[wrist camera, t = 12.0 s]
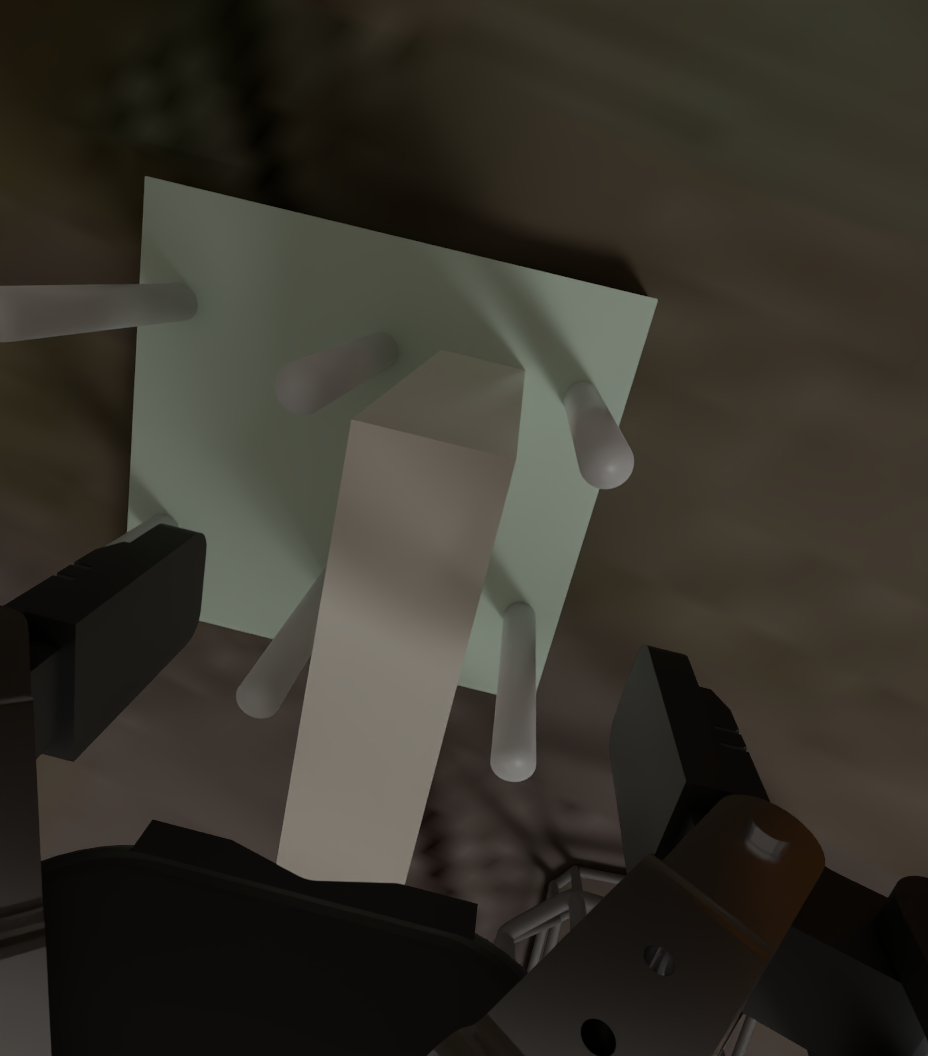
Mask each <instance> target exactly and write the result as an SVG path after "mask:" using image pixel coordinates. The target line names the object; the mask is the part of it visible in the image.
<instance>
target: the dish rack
mask: <svg viewBox="0 0 928 1056" xmlns="http://www.w3.org/2000/svg"><path fill="white" fill-rule="evenodd" d="M657 301H658V299H655V298H651V297H646V296H642V295H638V294H634V293H630V292H626V291H621V290H617V289H613V288H609V287H605V286H601V285H597V284H592V283H588V282H584V281H580V280H576V279H572V278H567V277H563V276H559V275H555V274H551V273H547V272H543V271H538V270H534V269H530V268H526V267H522V266H518V265H513V264H509V263H505V262H501V261H497V260H493V259H489V258H484V257H480V256H476V255H472V254H468V253H464V252H459V251H455V250H451V249H447V248H443V247H439V246H435V245H430V244H426V243H422V242H418V241H414V240H410V239H405V238H401V237H397V236H393V235H389V234H385V233H381V232H376V231H372V230H368V229H364V228H360V227H356V226H351V225H347V224H343V223H339V222H335V221H331V220H327V219H322V218H318V217H314V216H310V215H306V214H302V213H297V212H293V211H289V210H285V209H281V208H277V207H273V206H268V205H264V204H260V203H256V202H252V201H248V200H243V199H239V198H235V197H231V196H227V195H223V194H219V193H214V192H210V191H206V190H202V189H198V188H194V187H189V186H185V185H181V184H177V183H173V182H169V181H165V180H160V179H156V178H152V177H148V176H145V185H144V205H143V225H142V245H141V264H140V284H97V285H33V286H0V342H13V341H22V340H30V339H38V338H46V337H54V336H62V335H71V334H79V333H87V332H95V331H103V330H111V329H120V328H128V327H136V326H137V344H136V364H135V384H134V404H133V424H132V443H131V463H130V483H129V503H128V523H127V533H125V534H124V535H122V536H121V537H119V538H117V539H116V540H114V541H113V542H111V543H109V544H108V545H106V546H109V545H113V544H117V543H120V542H124V541H125V542H129V543H130V542H132V541H133V540H135V539H136V538H138V537H139V536H141V535H142V534H144V533H145V532H147V531H148V530H150V529H152V528H153V527H155V526H156V525H158V524H161V523H163V524H167V525H171V526H175V527H179V528H183V529H187V530H191V531H195V532H199V533H202V534H204V536H205V538H206V543H207V549H206V561H205V572H204V583H203V593H202V604H201V613H200V618H199V621H203V622H207V623H211V624H215V625H219V626H223V627H227V628H231V629H235V630H239V631H243V632H247V633H251V634H255V635H259V636H263V637H267V638H271V639H273V640H272V642H271V643H270V644H269V646H268V647H267V649H266V650H265V651H264V653H263V654H262V655H261V657H260V658H259V660H258V661H257V662H256V664H255V665H254V667H253V668H252V669H251V671H250V672H249V673H248V675H247V676H246V678H245V679H244V680H243V682H242V683H241V685H240V686H239V687H238V689H237V692H236V700H237V703H238V705H239V707H240V708H241V709H242V711H244V712H245V713H246V714H247V715H249V716H251V717H254V718H260V719H264V718H269V717H271V716H273V715H274V714H275V713H276V712H277V711H278V709H279V708H280V706H281V704H282V702H283V701H284V699H285V697H286V696H287V694H288V692H289V691H290V689H291V687H292V686H293V684H294V682H295V681H296V679H297V677H298V676H299V674H300V672H301V670H302V669H303V667H304V665H305V664H306V662H307V660H308V659H309V657H310V655H311V654H312V650H313V644H314V638H315V632H316V626H317V620H318V614H319V608H320V602H321V597H322V591H323V585H324V579H325V573H326V567H327V561H328V555H329V549H330V543H331V537H332V531H333V525H334V519H335V514H336V508H337V502H338V496H339V490H340V484H341V478H342V472H343V466H344V460H345V454H346V448H347V442H348V436H349V431H350V425H351V419H352V418H354V417H355V416H356V415H357V414H359V413H360V412H361V411H363V410H364V409H365V408H367V407H368V406H369V405H370V404H372V403H373V402H374V401H376V400H377V399H378V398H380V397H381V396H382V395H383V394H385V393H386V392H387V391H389V390H390V389H391V388H392V387H394V386H395V385H396V384H398V383H399V382H400V381H402V380H403V379H404V378H405V377H407V376H408V375H409V374H411V373H412V372H413V371H414V370H416V369H417V368H418V367H420V366H421V365H422V364H424V363H425V362H426V361H427V360H429V359H430V358H431V357H433V356H434V355H435V354H436V353H438V352H439V351H440V350H444V351H448V352H452V353H457V354H461V355H465V356H469V357H473V358H477V359H481V360H485V361H489V362H493V363H497V364H502V365H506V366H510V367H514V368H518V369H522V370H525V379H524V388H523V398H522V408H521V418H520V428H519V437H518V447H517V457H516V463H515V466H514V470H513V474H512V478H511V482H510V485H509V489H508V493H507V497H506V501H505V504H504V508H503V512H502V516H501V520H500V524H499V527H498V531H497V535H496V539H495V543H494V546H493V550H492V554H491V558H490V562H489V565H488V569H487V573H486V577H485V581H484V584H483V588H482V592H481V596H480V600H479V604H478V607H477V611H476V615H475V619H474V623H473V626H472V630H471V634H470V638H469V642H468V645H467V649H466V653H465V657H464V661H463V665H462V668H461V672H460V676H459V680H458V684H457V685H459V686H463V687H467V688H471V689H475V690H480V691H484V692H488V693H492V694H496V706H495V717H494V728H493V739H492V750H491V761H490V763H491V768H492V770H493V772H494V773H495V774H496V775H497V776H498V777H499V778H501V779H503V780H506V781H510V782H519V781H523V780H525V779H527V778H529V777H530V776H531V775H532V774H533V773H534V771H535V768H536V691H537V688H538V684H539V681H540V678H541V675H542V672H543V668H544V665H545V662H546V659H547V656H548V652H549V649H550V646H551V643H552V639H553V636H554V633H555V630H556V627H557V623H558V620H559V617H560V614H561V610H562V607H563V604H564V601H565V598H566V594H567V591H568V588H569V585H570V581H571V578H572V575H573V572H574V569H575V565H576V562H577V559H578V556H579V552H580V549H581V546H582V543H583V540H584V536H585V533H586V530H587V527H588V524H589V520H590V517H591V514H592V511H593V507H594V504H595V501H596V498H597V495H598V491H599V489H611V488H615V487H617V486H619V485H621V484H622V483H624V482H625V481H626V480H627V479H628V478H629V476H630V475H631V473H632V470H633V467H634V456H633V453H632V451H631V449H630V447H629V445H628V443H627V441H626V440H625V438H624V436H623V434H622V432H621V431H620V429H619V424H620V420H621V417H622V414H623V411H624V408H625V404H626V401H627V398H628V395H629V391H630V388H631V385H632V382H633V379H634V375H635V372H636V369H637V366H638V363H639V359H640V356H641V353H642V350H643V346H644V343H645V340H646V337H647V334H648V330H649V327H650V324H651V321H652V317H653V314H654V311H655V308H656V305H657ZM106 546H105V547H106Z"/></svg>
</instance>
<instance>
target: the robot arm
mask: <svg viewBox="0 0 928 1056" xmlns="http://www.w3.org/2000/svg"><path fill="white" fill-rule="evenodd" d="M206 549H207V543H206V538H205V536H204V534H202V533H199V532H195V531H191V530H187V529H183V528H179V527H175V526H171V525H167V524H163V523H161V524H158V525H156V526H155V527H153V528H152V529H150V530H148V531H147V532H145V533H144V534H142V535H141V536H139V537H138V538H136V539H135V540H133V541H132V542H130V543H129V542H125V541H124V542H120V543H117V544H113V545H109V546H106V547H102V548H99V549H95V550H94V551H92V552H90V553H89V554H87V555H85V556H84V557H82V558H81V559H79V560H77V561H76V562H75V563H74V565H69V566H67V567H66V568H64V569H63V570H61V571H59V572H58V573H57V576H54V575H53V576H51V577H50V578H48V579H46V580H45V581H43V582H41V583H40V584H38V585H37V586H35V587H33V588H32V589H30V590H28V591H27V592H25V593H23V594H22V595H20V596H19V597H17V598H15V599H14V600H12V601H10V602H9V603H7V604H6V605H4V606H1V605H0V1056H720V1054H721V1052H722V1051H723V1049H724V1047H725V1046H726V1044H727V1042H728V1040H729V1039H730V1037H731V1035H732V1033H733V1032H734V1030H735V1028H736V1027H737V1025H738V1023H739V1021H740V1020H741V1018H742V1016H743V1014H746V1015H748V1016H749V1017H751V1018H753V1019H755V1020H756V1021H758V1022H760V1023H761V1024H763V1025H765V1026H767V1027H768V1028H770V1029H772V1030H774V1031H775V1032H777V1033H779V1034H781V1035H782V1036H784V1037H786V1038H788V1039H789V1040H791V1041H793V1042H795V1043H796V1044H798V1045H800V1046H801V1047H803V1048H805V1049H807V1051H808V1055H809V1056H928V878H926V877H921V876H907V877H904V878H902V879H901V880H899V881H898V882H897V884H896V886H895V887H894V889H893V890H892V892H891V894H890V895H889V897H888V898H887V897H885V896H883V895H881V894H879V893H877V892H875V891H873V890H871V889H868V888H866V887H864V886H862V885H860V884H858V883H856V882H854V881H852V880H850V879H848V878H846V877H844V876H842V875H840V874H838V873H836V872H834V871H832V870H830V869H829V868H827V867H825V857H824V853H823V850H822V848H821V846H820V844H819V843H818V841H817V839H816V838H815V837H814V835H813V834H812V833H811V832H810V831H809V830H808V829H807V828H806V827H805V826H804V825H803V824H802V823H801V822H800V821H799V820H798V819H796V818H795V817H794V816H792V815H791V814H790V813H788V812H787V811H785V810H784V809H782V808H780V807H778V806H777V805H775V804H772V803H770V800H769V798H768V796H767V794H766V791H765V789H764V787H763V784H762V782H761V780H760V777H759V775H758V773H757V770H756V768H755V766H754V763H753V761H752V759H751V757H750V754H749V752H746V749H747V747H746V745H745V743H744V740H743V738H742V736H741V735H740V734H739V729H738V727H737V724H736V722H735V720H734V717H733V715H732V713H731V710H730V709H729V708H728V707H727V706H726V705H725V704H724V703H723V702H722V701H721V700H720V699H719V698H718V696H717V695H716V694H715V693H714V692H713V691H712V690H711V689H707V688H703V687H699V685H698V683H697V680H696V677H695V675H694V672H693V669H692V667H691V664H690V662H689V659H688V657H687V656H686V655H684V654H680V653H676V652H672V651H668V650H664V649H660V648H656V647H652V646H648V645H643V646H642V647H641V648H640V650H639V652H638V654H637V656H636V658H635V661H634V664H633V667H632V669H631V672H630V675H629V678H628V680H627V683H626V686H625V689H624V691H623V694H622V697H621V700H620V702H619V705H618V708H617V711H616V713H615V716H614V720H613V723H612V728H611V734H610V744H609V750H610V759H611V766H612V773H613V780H614V787H615V794H616V801H617V808H618V815H619V822H620V829H621V836H622V843H623V850H624V857H625V865H626V872H627V875H626V876H625V877H624V878H623V879H622V880H621V881H620V882H619V883H618V884H617V885H616V886H615V887H614V888H613V889H612V890H611V891H610V892H609V893H608V894H607V895H606V896H605V897H604V898H603V899H602V900H601V901H600V902H599V903H598V904H597V905H596V906H595V907H594V908H593V909H592V910H591V911H590V912H589V913H588V914H587V915H586V916H585V917H584V918H583V919H582V920H581V921H580V922H579V923H578V924H577V925H576V926H575V927H574V928H573V929H572V930H571V931H570V932H569V933H568V934H567V935H566V936H565V937H564V938H563V939H562V940H561V941H560V942H559V943H558V944H557V945H556V946H555V947H554V948H553V949H552V950H551V951H550V952H549V953H548V954H547V955H546V956H545V957H544V958H543V959H542V960H541V961H540V962H539V963H538V964H537V965H536V966H535V967H534V968H533V969H532V970H531V971H530V972H529V973H528V972H527V971H526V970H525V969H524V968H523V967H522V966H521V965H520V964H518V963H517V962H516V961H515V960H514V959H513V958H511V957H510V956H509V955H508V954H507V953H505V952H504V951H503V950H501V949H500V948H498V947H497V946H495V945H494V944H492V943H491V942H489V941H488V940H486V939H485V938H483V937H481V936H479V935H477V934H476V933H475V925H476V915H477V906H478V904H476V903H472V902H468V901H464V900H460V899H457V898H453V897H449V896H445V895H441V894H437V893H434V892H430V891H426V890H422V889H418V888H414V887H410V886H407V885H403V884H399V883H378V882H344V881H315V880H308V879H305V878H302V877H300V876H298V875H296V874H294V873H292V872H290V871H289V870H287V869H285V868H283V867H281V866H279V865H277V864H275V863H274V862H272V861H270V860H268V859H266V858H264V857H262V856H261V855H259V854H257V853H255V852H253V851H251V850H249V849H247V848H246V847H244V846H242V845H240V844H238V843H236V842H234V841H233V840H229V839H226V838H222V837H218V836H214V835H210V834H206V833H202V832H199V831H195V830H191V829H187V828H183V827H179V826H175V825H172V824H168V823H164V822H160V821H156V820H152V821H151V823H150V824H149V825H148V827H147V828H146V830H145V831H144V832H143V834H142V835H141V837H140V838H139V839H138V841H137V842H136V844H135V845H116V846H102V847H96V848H89V849H83V850H78V851H74V852H70V853H66V854H62V855H58V856H55V857H52V858H49V859H46V860H43V861H41V855H40V834H39V813H38V792H37V771H36V759H37V758H38V757H39V756H40V755H41V754H45V755H49V756H53V757H57V758H61V759H65V760H68V761H72V762H74V761H75V760H76V759H77V758H78V757H79V756H80V755H81V753H82V752H83V751H84V750H85V749H86V748H87V747H88V746H89V745H90V744H91V743H92V742H93V741H94V740H95V739H96V738H97V737H98V736H99V735H100V734H101V733H102V732H103V731H104V730H105V729H106V728H107V726H108V725H109V724H110V723H111V722H112V721H113V720H114V719H115V718H116V717H117V716H118V715H119V714H120V713H121V712H122V711H123V710H124V709H125V708H126V707H127V706H128V705H129V704H130V703H131V702H132V701H133V699H134V698H135V697H136V696H137V695H138V694H139V693H140V692H141V691H142V690H143V689H144V688H145V687H146V686H147V685H148V684H149V683H150V682H151V681H152V680H153V679H154V678H155V677H156V676H157V675H158V674H159V672H160V671H161V670H162V669H163V668H164V667H165V666H166V665H167V664H168V663H169V662H170V661H171V660H172V659H173V658H174V657H175V656H176V655H177V654H178V653H179V652H180V651H181V650H182V649H183V648H184V647H185V645H186V644H187V643H188V642H189V641H190V639H191V637H192V636H193V634H194V632H195V629H196V627H197V624H198V621H199V618H200V613H201V604H202V593H203V583H204V572H205V561H206Z"/></svg>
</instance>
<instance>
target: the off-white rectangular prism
mask: <svg viewBox="0 0 928 1056" xmlns="http://www.w3.org/2000/svg"><path fill="white" fill-rule="evenodd" d="M524 379H525V370H522V369H518V368H514V367H510V366H506V365H502V364H497V363H493V362H489V361H485V360H481V359H477V358H473V357H469V356H465V355H461V354H457V353H452V352H448V351H444V350H440V351H439V352H438V353H436V354H435V355H434V356H433V357H431V358H430V359H429V360H427V361H426V362H425V363H424V364H422V365H421V366H420V367H418V368H417V369H416V370H414V371H413V372H412V373H411V374H409V375H408V376H407V377H405V378H404V379H403V380H402V381H400V382H399V383H398V384H396V385H395V386H394V387H392V388H391V389H390V390H389V391H387V392H386V393H385V394H383V395H382V396H381V397H380V398H378V399H377V400H376V401H374V402H373V403H372V404H370V405H369V406H368V407H367V408H365V409H364V410H363V411H361V412H360V413H359V414H357V415H356V416H355V417H354V418H352V419H351V425H350V431H349V436H348V442H347V448H346V454H345V460H344V466H343V472H342V478H341V484H340V490H339V496H338V502H337V508H336V514H335V519H334V525H333V531H332V537H331V543H330V549H329V555H328V561H327V567H326V573H325V579H324V585H323V591H322V597H321V602H320V608H319V614H318V620H317V626H316V632H315V638H314V644H313V650H312V656H311V662H310V668H309V674H308V679H307V685H306V691H305V697H304V703H303V709H302V715H301V721H300V727H299V733H298V739H297V745H296V751H295V757H294V762H293V768H292V774H291V780H290V786H289V792H288V798H287V804H286V810H285V816H284V822H283V828H282V834H281V840H280V845H279V851H278V857H277V863H276V864H277V865H279V866H281V867H283V868H285V869H287V870H289V871H290V872H292V873H294V874H296V875H298V876H300V877H302V878H305V879H308V880H315V881H344V882H378V883H399V884H403V885H405V882H406V878H407V874H408V870H409V867H410V863H411V859H412V855H413V851H414V848H415V844H416V840H417V836H418V832H419V828H420V825H421V821H422V817H423V813H424V809H425V806H426V802H427V798H428V794H429V790H430V787H431V783H432V779H433V775H434V771H435V767H436V764H437V760H438V756H439V752H440V748H441V745H442V741H443V737H444V733H445V729H446V726H447V722H448V718H449V714H450V710H451V706H452V703H453V699H454V695H455V691H456V687H457V684H458V680H459V676H460V672H461V668H462V665H463V661H464V657H465V653H466V649H467V645H468V642H469V638H470V634H471V630H472V626H473V623H474V619H475V615H476V611H477V607H478V604H479V600H480V596H481V592H482V588H483V584H484V581H485V577H486V573H487V569H488V565H489V562H490V558H491V554H492V550H493V546H494V543H495V539H496V535H497V531H498V527H499V524H500V520H501V516H502V512H503V508H504V504H505V501H506V497H507V493H508V489H509V485H510V482H511V478H512V474H513V470H514V466H515V463H516V457H517V447H518V437H519V428H520V418H521V408H522V398H523V388H524Z"/></svg>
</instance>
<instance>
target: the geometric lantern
mask: <svg viewBox="0 0 928 1056" xmlns="http://www.w3.org/2000/svg"><path fill="white" fill-rule="evenodd" d="M625 876H626V875H621V874H616V873H610V872H605V871H600V870H595V869H590V868H585V867H578V866H575V865H574V866H572V867H571V868H569V869H568V870H567V871H565V872H564V873H563V874H561V875H560V876H559V877H557V878H556V879H555V880H552V881H551V882H550V884H549V886H548V893H547V897H546V901H544V902H542V903H540V904H538V905H537V906H535V907H533V908H531V909H529V910H527V911H526V912H524V913H522V914H520V915H518V916H517V917H515V918H513V919H512V920H510V921H508V922H507V923H505V924H504V925H502V926H501V927H500V929H499V930H498V933H497V936H496V938H495V941H494V945H495V946H497V947H498V948H500V949H501V950H503V951H504V952H505V953H507V954H508V955H509V956H510V957H511V958H513V959H514V960H515V944H514V943H516V942H519V941H521V940H523V939H526V938H528V937H530V936H533V935H535V934H537V935H536V938H535V942H534V946H533V950H532V953H531V957H530V961H529V965H528V968H527V972H528V973H529V972H530V971H531V970H532V969H533V968H534V967H535V966H536V965H537V964H538V962H539V958H540V954H541V951H542V947H543V943H544V940H545V936H546V932H547V929H549V928H550V929H549V933H548V937H547V941H546V945H545V949H544V953H543V957H542V959H543V958H544V957H545V956H546V955H547V954H548V953H549V952H550V951H551V950H552V949H553V948H554V947H555V946H556V943H557V939H558V935H559V931H560V927H561V924H562V922H563V921H565V920H566V919H568V918H570V930H572V929H573V928H574V927H575V926H576V925H577V924H578V923H579V922H580V921H581V920H582V919H583V918H584V917H585V916H586V915H587V914H588V913H589V912H590V911H591V910H592V909H593V908H594V907H595V906H596V905H597V904H598V903H599V902H600V901H601V900H602V899H603V898H604V897H602V896H599V895H596V894H592V893H589V892H585V891H583V890H582V883H581V877H584V878H589V879H594V880H599V881H604V882H609V883H614V884H618V883H619V882H620V881H621V880H622V879H623V878H624V877H625ZM570 881H572V889H568V890H566V891H563V892H561V893H559V889H560V888H562V887H563V886H564V885H566V884H567V883H568V882H570ZM755 1024H756V1020H755V1019H753V1018H751V1017H749V1016H748V1015H746V1018H745V1021H744V1023H743V1026H742V1029H741V1031H740V1034H739V1037H738V1040H737V1042H736V1045H735V1048H734V1050H733V1053H732V1056H744V1053H745V1051H746V1048H747V1045H748V1043H749V1040H750V1037H751V1035H752V1032H753V1029H754V1027H755ZM720 1056H725V1053H724V1049H723V1051H722V1052H721V1054H720Z"/></svg>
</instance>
